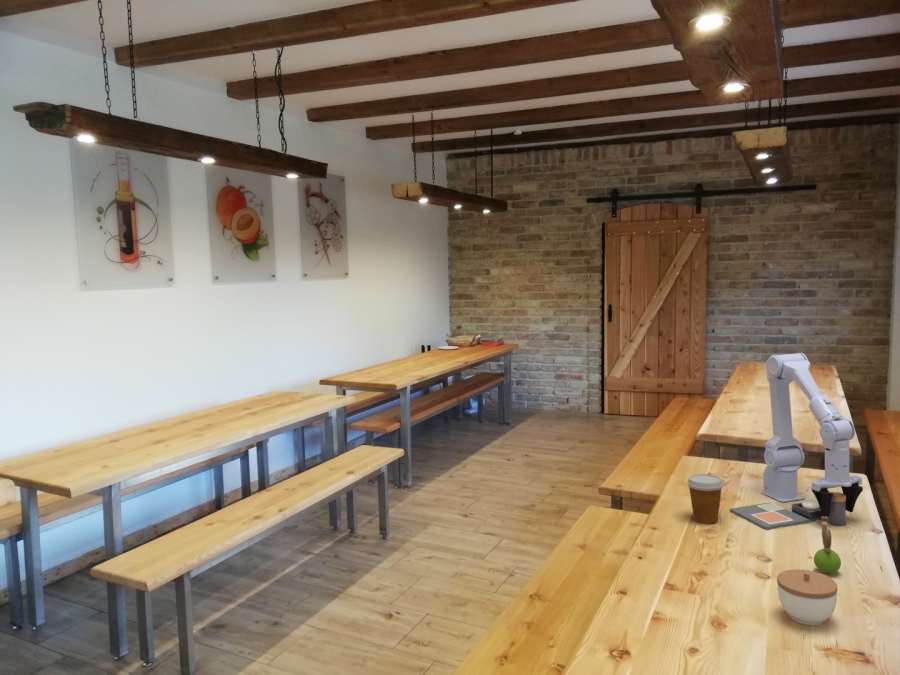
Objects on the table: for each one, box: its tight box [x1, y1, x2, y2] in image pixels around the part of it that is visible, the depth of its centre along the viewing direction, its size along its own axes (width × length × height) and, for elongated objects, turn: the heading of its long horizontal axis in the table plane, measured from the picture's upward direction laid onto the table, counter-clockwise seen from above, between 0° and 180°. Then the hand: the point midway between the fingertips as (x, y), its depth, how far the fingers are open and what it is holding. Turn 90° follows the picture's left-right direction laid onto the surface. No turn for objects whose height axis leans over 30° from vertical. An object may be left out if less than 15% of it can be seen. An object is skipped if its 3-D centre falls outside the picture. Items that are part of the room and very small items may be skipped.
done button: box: [801, 500, 820, 511], centre depth 187 cm, size 4×4×2 cm
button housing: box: [791, 502, 828, 522], centre depth 188 cm, size 7×7×3 cm
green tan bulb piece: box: [813, 516, 842, 575], centre depth 154 cm, size 5×6×12 cm
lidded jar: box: [776, 569, 838, 626], centre depth 135 cm, size 11×11×9 cm
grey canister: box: [827, 491, 847, 527], centre depth 181 cm, size 4×4×8 cm
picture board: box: [729, 501, 811, 531], centre depth 188 cm, size 15×14×1 cm
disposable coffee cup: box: [686, 473, 724, 525], centre depth 188 cm, size 10×10×12 cm
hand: (837, 513), depth 181 cm, fingers open, 7 cm apart
